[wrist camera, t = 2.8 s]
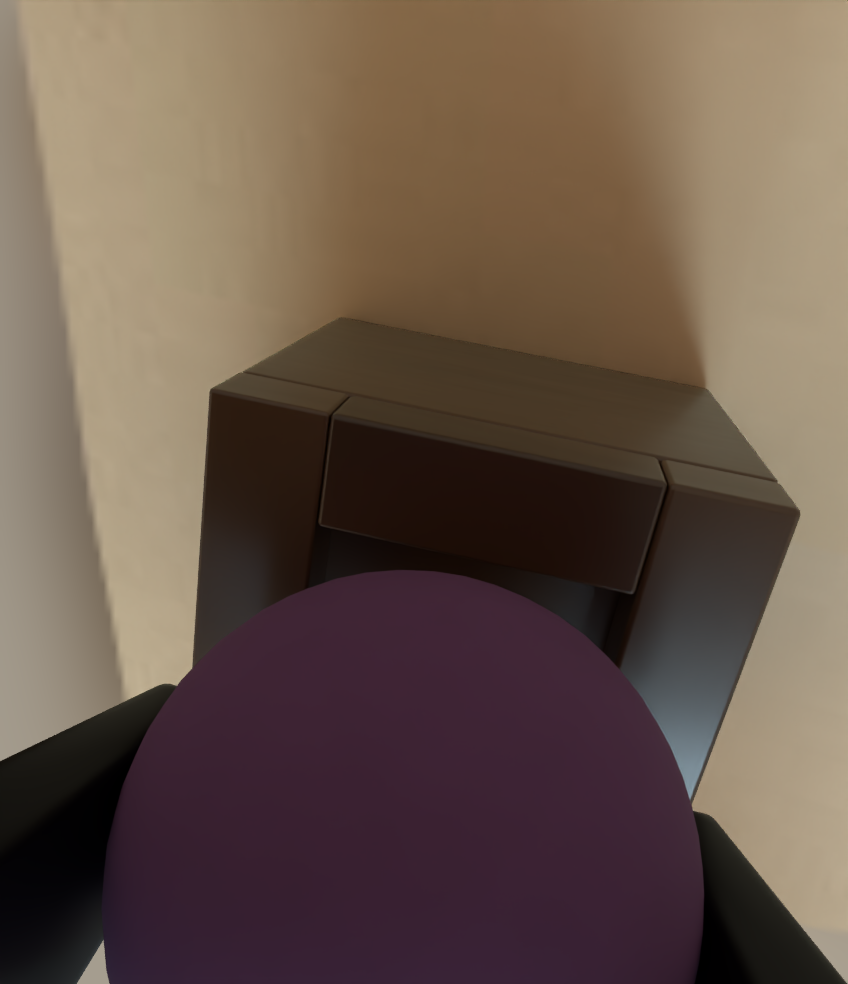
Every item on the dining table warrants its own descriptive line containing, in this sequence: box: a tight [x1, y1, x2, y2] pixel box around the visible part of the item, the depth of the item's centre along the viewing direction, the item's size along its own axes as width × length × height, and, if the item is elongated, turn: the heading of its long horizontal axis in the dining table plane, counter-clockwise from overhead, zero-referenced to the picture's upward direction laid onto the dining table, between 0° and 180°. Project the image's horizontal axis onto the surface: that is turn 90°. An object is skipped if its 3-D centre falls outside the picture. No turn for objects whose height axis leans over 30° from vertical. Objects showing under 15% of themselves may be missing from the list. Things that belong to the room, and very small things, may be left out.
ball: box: [101, 570, 704, 984], centre depth 8 cm, size 6×6×6 cm
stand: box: [192, 318, 800, 805], centre depth 13 cm, size 7×7×6 cm
